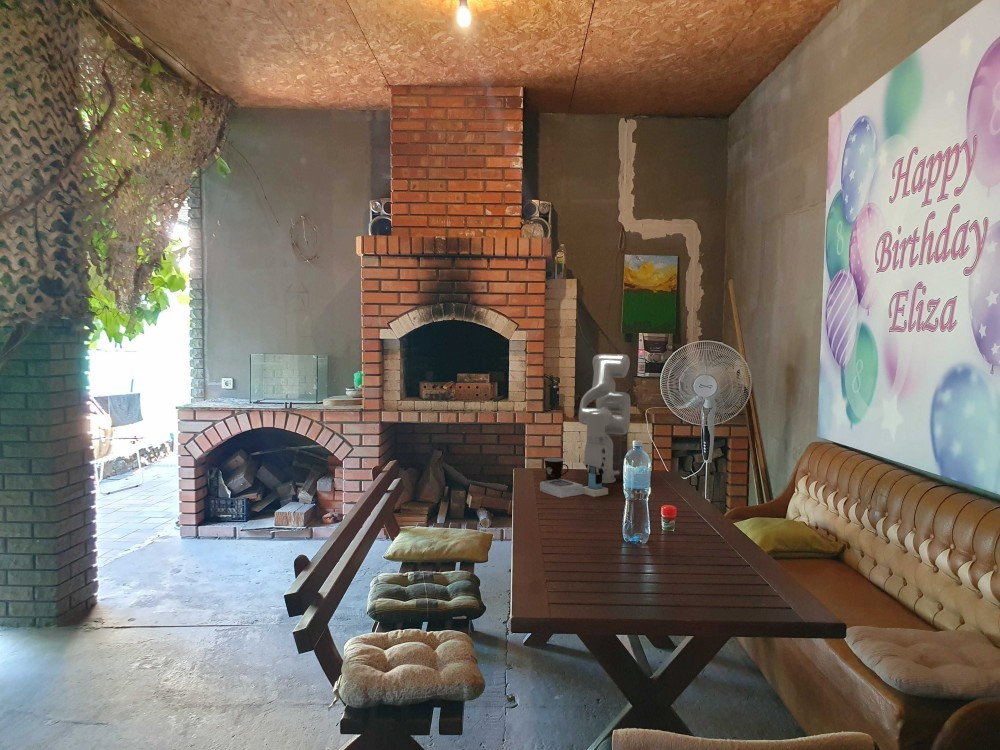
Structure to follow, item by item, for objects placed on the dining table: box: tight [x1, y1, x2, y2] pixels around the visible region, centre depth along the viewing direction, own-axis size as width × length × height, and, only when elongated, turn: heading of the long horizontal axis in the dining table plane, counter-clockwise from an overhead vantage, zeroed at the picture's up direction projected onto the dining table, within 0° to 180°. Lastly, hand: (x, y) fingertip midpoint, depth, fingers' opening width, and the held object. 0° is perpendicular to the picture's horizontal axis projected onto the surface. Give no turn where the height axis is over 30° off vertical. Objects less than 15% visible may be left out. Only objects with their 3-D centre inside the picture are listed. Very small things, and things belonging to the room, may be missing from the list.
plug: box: [587, 466, 603, 490], centre depth 272 cm, size 4×4×10 cm
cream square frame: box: [582, 485, 609, 498], centre depth 272 cm, size 8×8×2 cm
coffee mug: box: [544, 457, 570, 481], centre depth 293 cm, size 12×9×10 cm
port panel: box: [539, 478, 584, 499], centre depth 273 cm, size 12×14×4 cm
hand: (595, 481), depth 273 cm, fingers closed on plug, 4 cm apart
